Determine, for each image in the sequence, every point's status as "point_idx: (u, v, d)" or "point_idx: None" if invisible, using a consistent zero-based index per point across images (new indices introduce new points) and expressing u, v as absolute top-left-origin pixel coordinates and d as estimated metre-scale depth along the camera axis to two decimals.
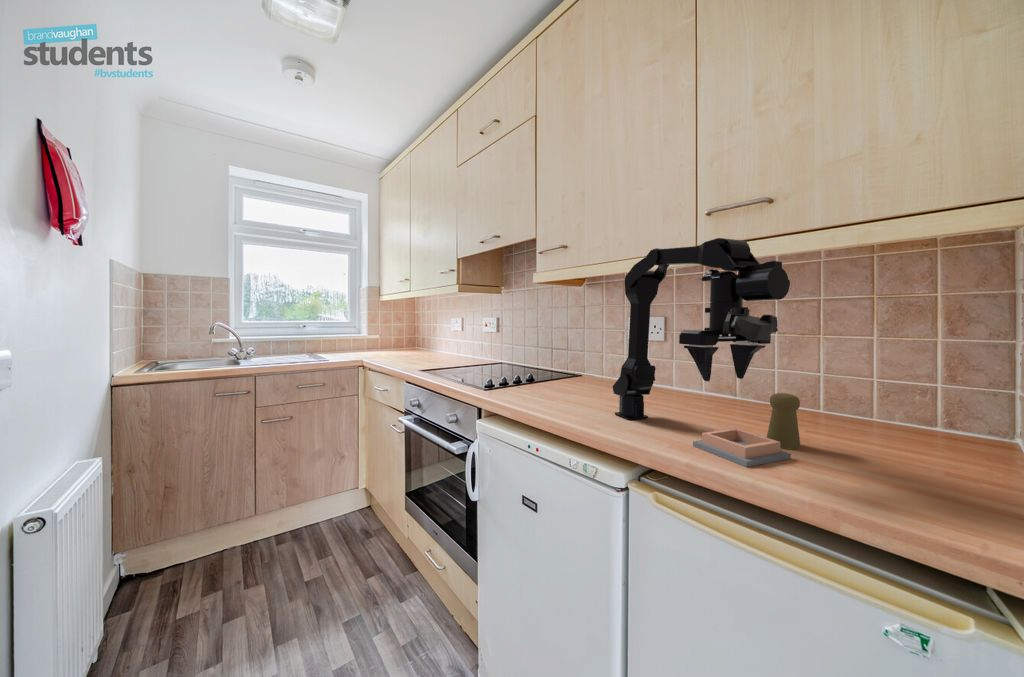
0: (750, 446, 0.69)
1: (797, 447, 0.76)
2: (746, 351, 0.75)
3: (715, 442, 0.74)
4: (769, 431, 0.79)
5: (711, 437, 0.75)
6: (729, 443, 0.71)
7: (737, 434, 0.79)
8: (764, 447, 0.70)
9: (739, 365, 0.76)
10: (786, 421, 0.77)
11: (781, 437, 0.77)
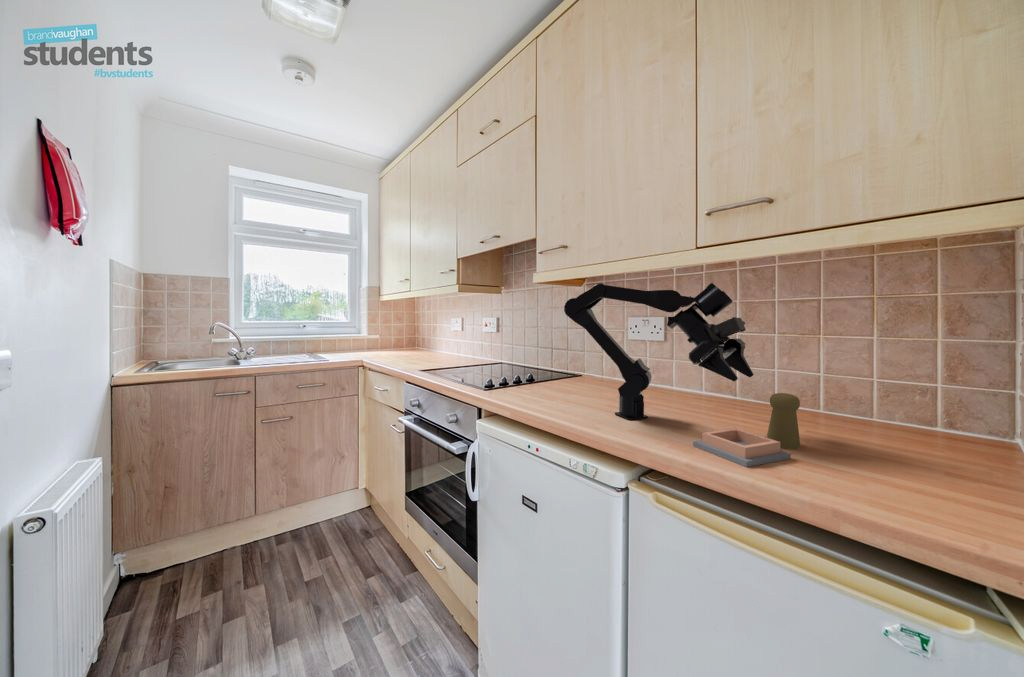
0: (750, 446, 0.69)
1: (797, 447, 0.76)
2: (737, 355, 0.90)
3: (715, 442, 0.74)
4: (769, 431, 0.79)
5: (711, 437, 0.75)
6: (729, 443, 0.71)
7: (737, 434, 0.79)
8: (764, 447, 0.70)
9: (742, 368, 0.89)
10: (786, 421, 0.77)
11: (781, 437, 0.77)
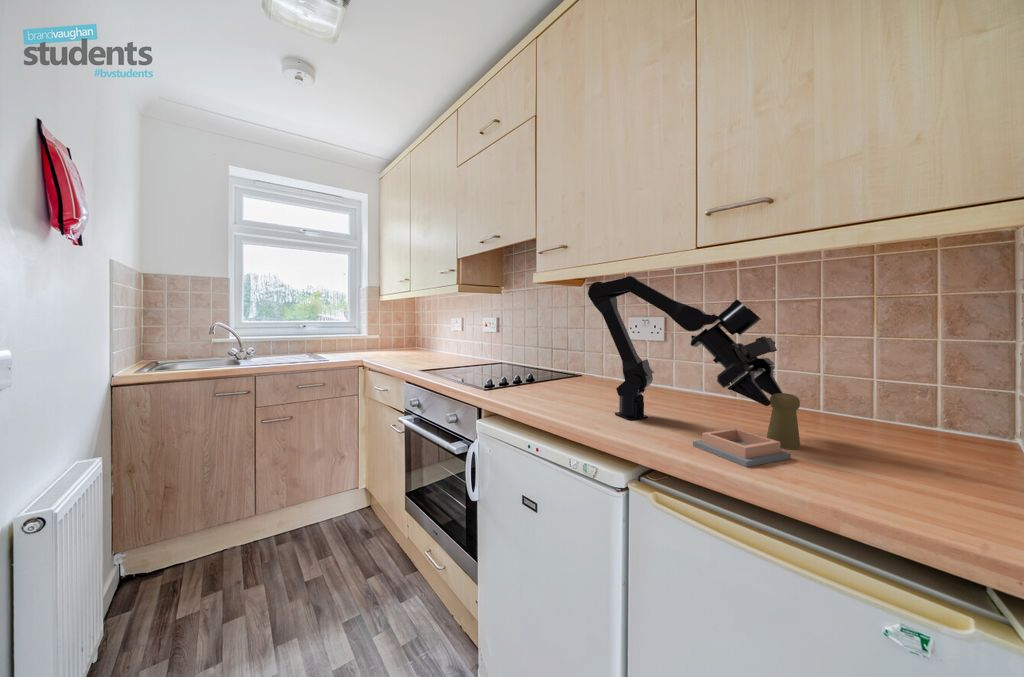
0: (750, 446, 0.69)
1: (797, 447, 0.76)
2: (766, 376, 0.85)
3: (715, 442, 0.74)
4: (769, 431, 0.79)
5: (711, 437, 0.75)
6: (729, 443, 0.71)
7: (737, 434, 0.79)
8: (764, 447, 0.70)
9: (772, 389, 0.84)
10: (786, 421, 0.77)
11: (781, 437, 0.77)
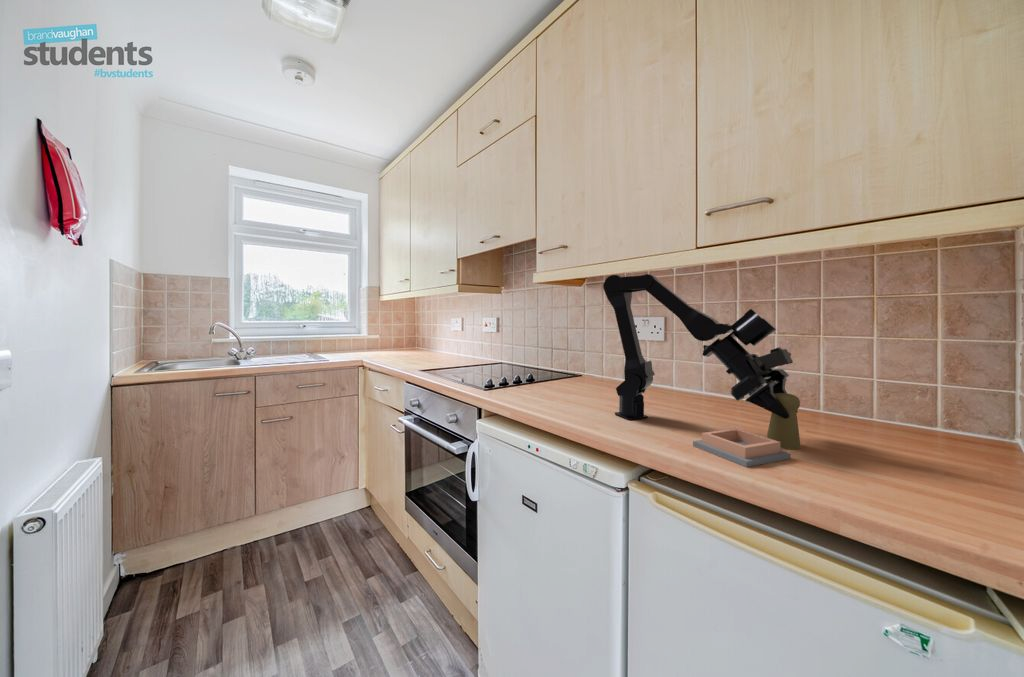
0: (750, 446, 0.69)
1: (797, 447, 0.76)
2: (778, 389, 0.82)
3: (715, 442, 0.74)
4: (769, 431, 0.79)
5: (711, 437, 0.75)
6: (729, 443, 0.71)
7: (737, 434, 0.79)
8: (764, 447, 0.70)
9: None
10: (786, 421, 0.77)
11: (782, 437, 0.77)
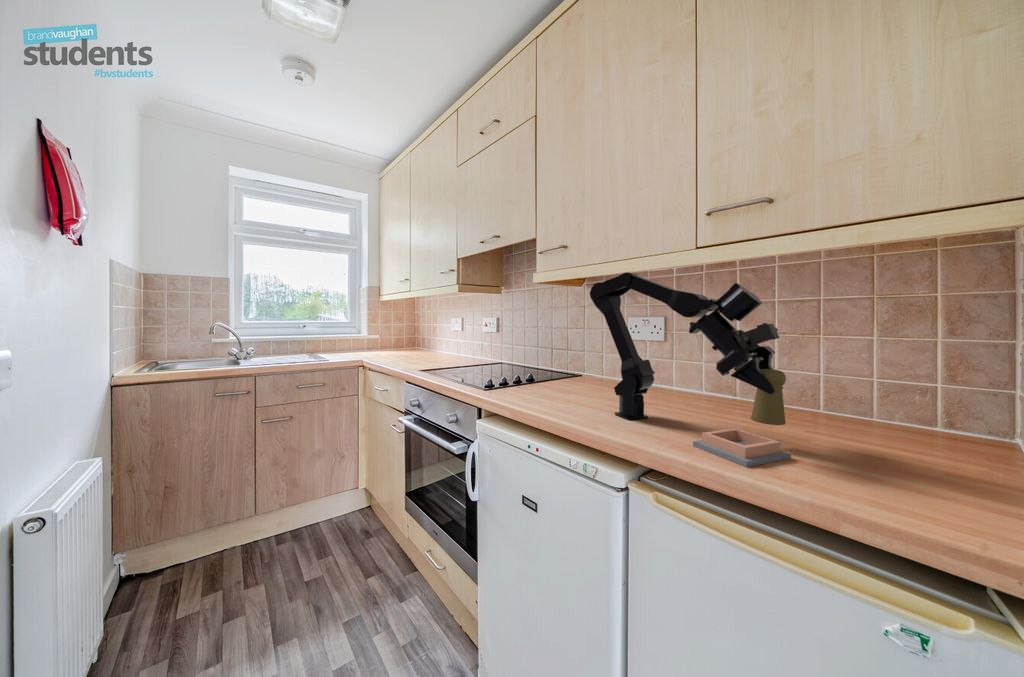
0: (750, 446, 0.69)
1: (782, 423, 0.75)
2: (764, 365, 0.80)
3: (715, 442, 0.74)
4: (754, 407, 0.78)
5: (711, 437, 0.75)
6: (729, 443, 0.71)
7: (737, 434, 0.79)
8: (764, 447, 0.70)
9: None
10: (772, 396, 0.75)
11: (766, 413, 0.75)
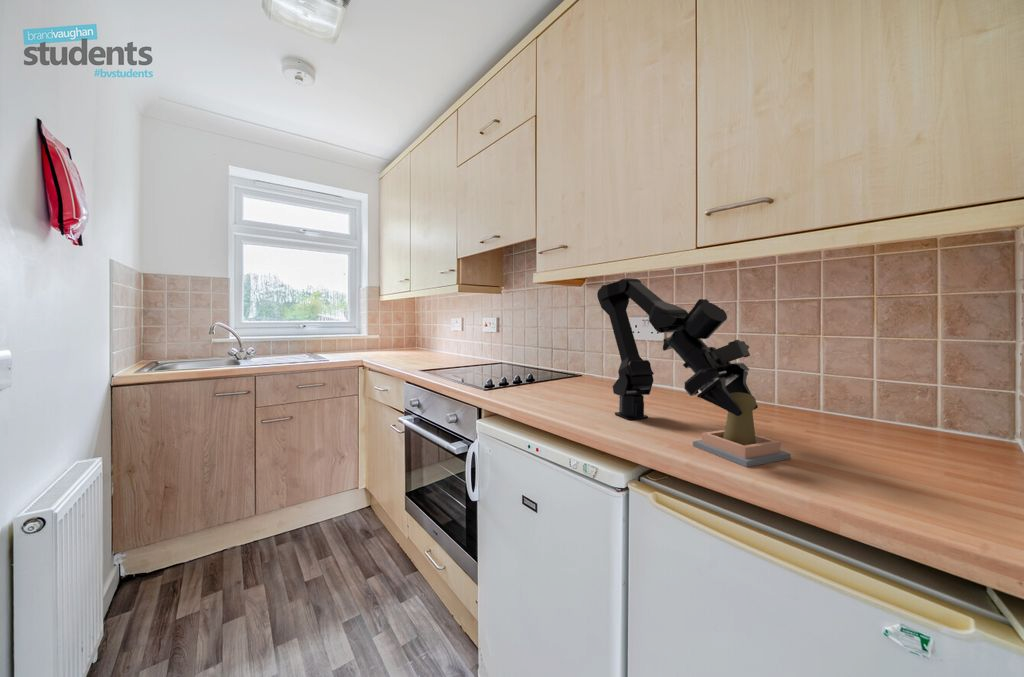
0: (750, 446, 0.69)
1: None
2: (739, 383, 0.78)
3: (715, 442, 0.74)
4: (725, 432, 0.75)
5: (711, 437, 0.75)
6: (729, 443, 0.71)
7: None
8: (764, 447, 0.70)
9: None
10: (741, 422, 0.72)
11: (736, 439, 0.72)
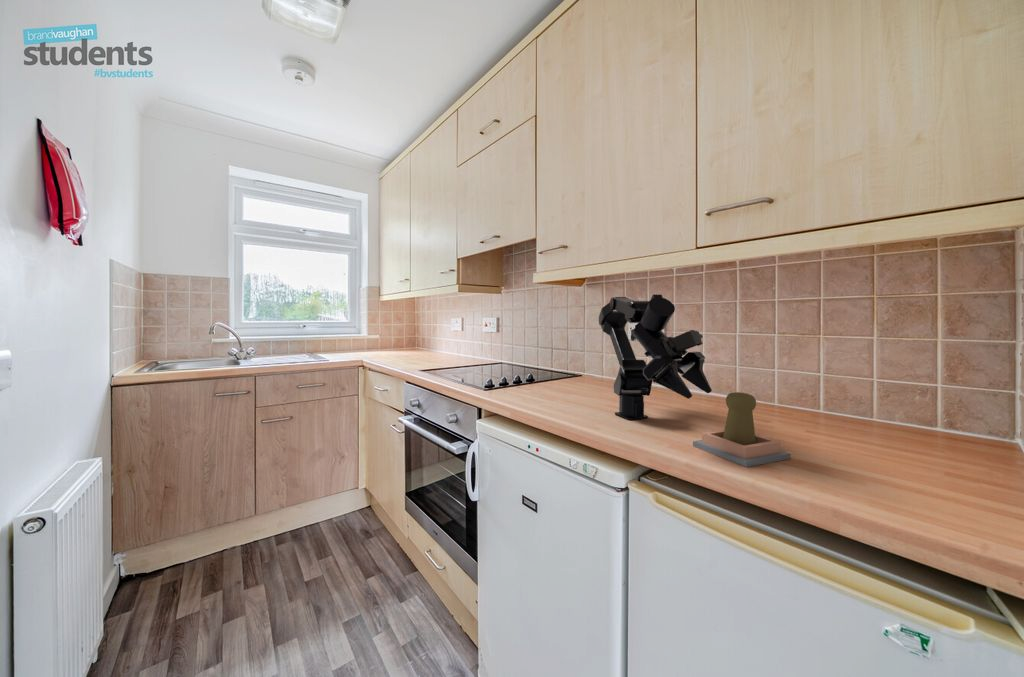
0: (750, 446, 0.69)
1: None
2: (696, 370, 0.86)
3: (715, 442, 0.74)
4: (725, 433, 0.75)
5: (711, 437, 0.75)
6: (729, 443, 0.71)
7: None
8: (764, 447, 0.70)
9: (700, 383, 0.84)
10: (741, 422, 0.72)
11: (736, 439, 0.72)
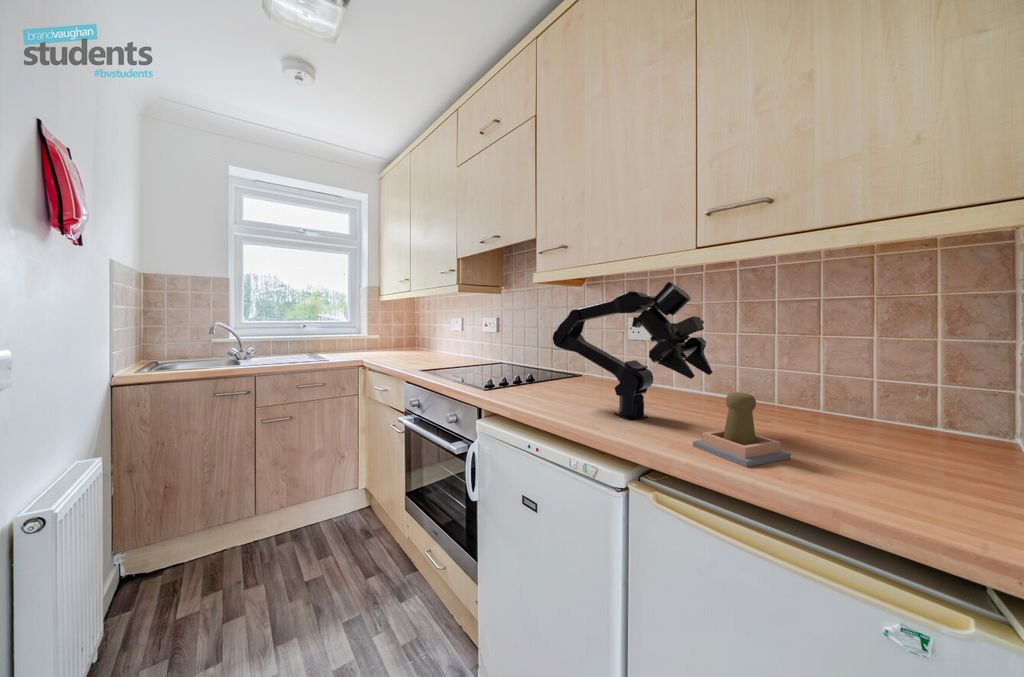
0: (750, 446, 0.69)
1: None
2: (698, 353, 0.92)
3: (715, 442, 0.74)
4: (725, 433, 0.75)
5: (711, 437, 0.75)
6: (729, 443, 0.71)
7: None
8: (764, 447, 0.70)
9: (702, 365, 0.91)
10: (741, 422, 0.72)
11: (736, 439, 0.72)
